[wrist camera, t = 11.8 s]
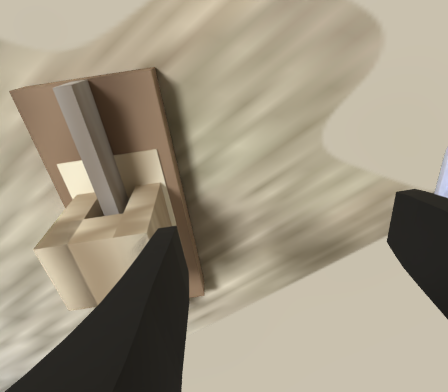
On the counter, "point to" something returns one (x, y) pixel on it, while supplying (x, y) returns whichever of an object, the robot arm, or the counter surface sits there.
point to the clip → (99, 244)
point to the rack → (109, 145)
